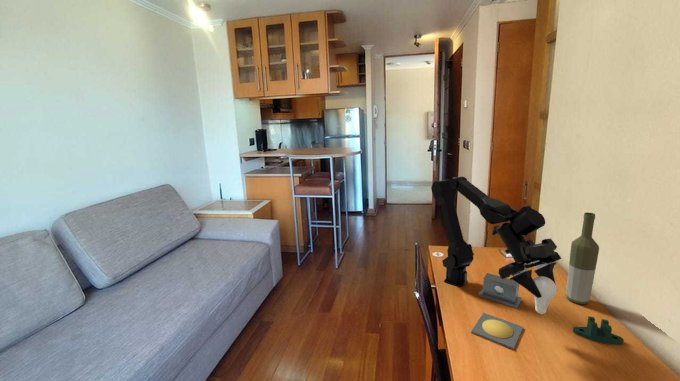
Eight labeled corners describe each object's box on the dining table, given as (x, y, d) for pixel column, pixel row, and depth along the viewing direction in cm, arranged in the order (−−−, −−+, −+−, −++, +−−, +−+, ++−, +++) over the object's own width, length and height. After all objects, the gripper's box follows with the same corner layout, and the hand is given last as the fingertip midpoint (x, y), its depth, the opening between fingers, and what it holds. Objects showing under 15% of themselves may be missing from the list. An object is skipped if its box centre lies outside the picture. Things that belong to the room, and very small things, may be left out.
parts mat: (471, 332, 90) (471, 330, 90) (483, 314, 98) (483, 312, 98) (513, 350, 83) (513, 347, 83) (522, 328, 91) (523, 326, 91)
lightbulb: (557, 321, 83) (562, 284, 81) (532, 319, 85) (536, 282, 82) (548, 307, 89) (552, 272, 86) (524, 305, 91) (528, 271, 88)
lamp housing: (478, 296, 108) (479, 277, 106) (484, 288, 112) (485, 270, 110) (517, 308, 100) (519, 289, 98) (521, 300, 104) (523, 281, 103)
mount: (574, 336, 87) (576, 321, 86) (571, 327, 91) (573, 312, 90) (625, 348, 82) (628, 332, 81) (620, 338, 86) (623, 322, 85)
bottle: (595, 307, 99) (609, 217, 92) (570, 305, 101) (582, 216, 94) (583, 295, 106) (596, 210, 99) (560, 293, 107) (571, 210, 101)
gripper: (511, 236, 82) (547, 295, 74) (558, 224, 88) (596, 277, 81) (485, 252, 90) (515, 306, 83) (529, 240, 97) (561, 289, 90)
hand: (547, 294), depth 84 cm, fingers closed on lightbulb, 6 cm apart
